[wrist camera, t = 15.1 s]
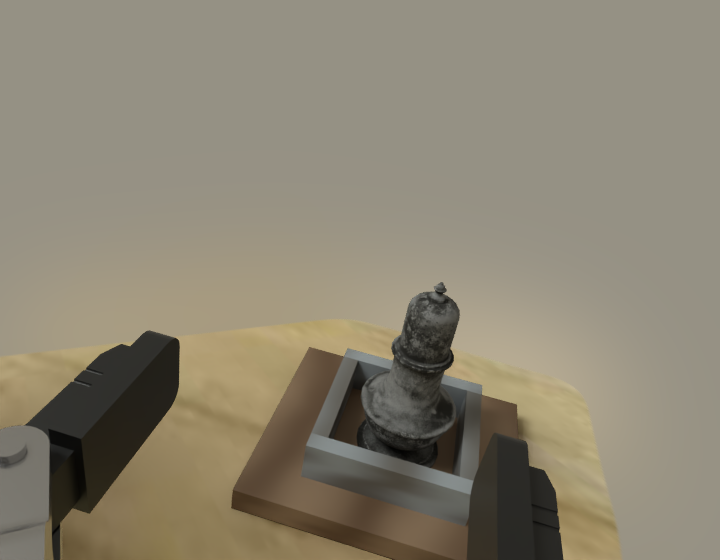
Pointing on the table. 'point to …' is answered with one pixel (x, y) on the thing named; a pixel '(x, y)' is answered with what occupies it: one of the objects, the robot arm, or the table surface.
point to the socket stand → (367, 465)
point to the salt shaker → (413, 385)
